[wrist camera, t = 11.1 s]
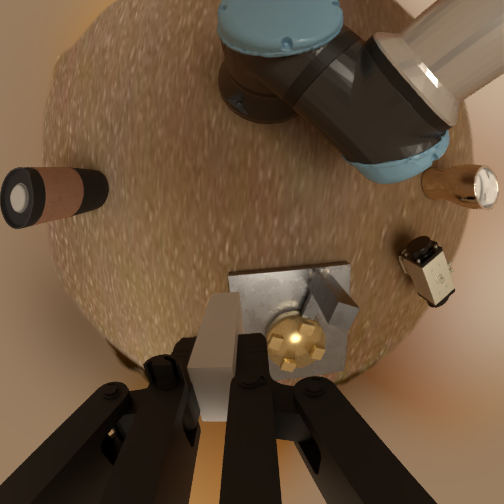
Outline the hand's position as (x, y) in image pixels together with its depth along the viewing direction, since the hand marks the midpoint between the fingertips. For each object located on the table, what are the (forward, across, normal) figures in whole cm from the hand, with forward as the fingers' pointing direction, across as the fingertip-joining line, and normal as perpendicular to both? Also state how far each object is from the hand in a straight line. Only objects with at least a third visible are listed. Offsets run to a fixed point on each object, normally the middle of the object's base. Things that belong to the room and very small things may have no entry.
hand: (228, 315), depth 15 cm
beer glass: (+31, +36, +6) cm, 48 cm away
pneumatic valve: (+31, +30, -8) cm, 44 cm away
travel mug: (+31, -26, +10) cm, 41 cm away
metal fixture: (+28, +9, -16) cm, 33 cm away
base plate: (+30, +7, -18) cm, 36 cm away
